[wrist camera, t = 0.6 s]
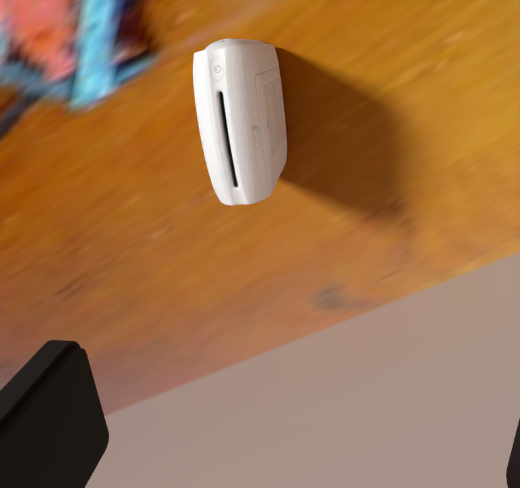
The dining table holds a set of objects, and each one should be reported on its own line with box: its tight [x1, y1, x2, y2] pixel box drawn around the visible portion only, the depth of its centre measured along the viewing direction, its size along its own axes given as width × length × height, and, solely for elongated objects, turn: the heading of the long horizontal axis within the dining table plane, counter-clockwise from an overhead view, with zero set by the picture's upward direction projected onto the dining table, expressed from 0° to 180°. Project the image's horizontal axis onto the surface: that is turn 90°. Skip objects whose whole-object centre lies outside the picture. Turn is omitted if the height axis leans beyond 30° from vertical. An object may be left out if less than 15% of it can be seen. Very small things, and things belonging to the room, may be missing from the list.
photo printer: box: [193, 39, 287, 205], centre depth 31 cm, size 10×4×12 cm, turn 8°
